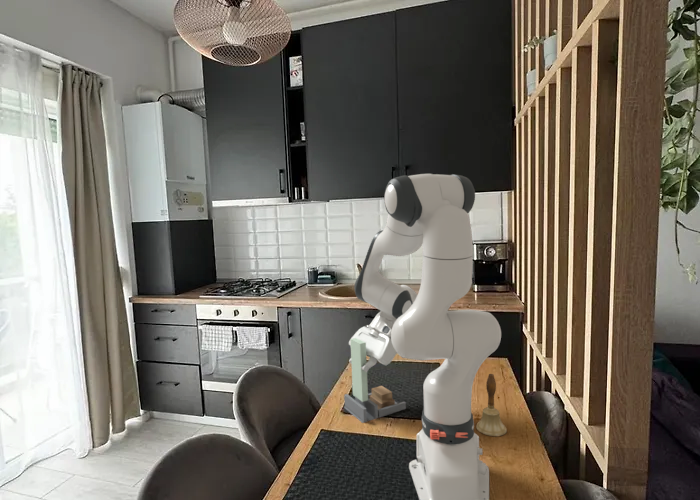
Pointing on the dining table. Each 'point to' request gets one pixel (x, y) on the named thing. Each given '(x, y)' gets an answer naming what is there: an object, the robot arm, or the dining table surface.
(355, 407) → the charcoal rack
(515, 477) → the dining table surface
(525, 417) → the dining table surface
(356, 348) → the sage panel
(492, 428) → the hand bell
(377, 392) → the top offcut
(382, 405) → the bottom offcut
